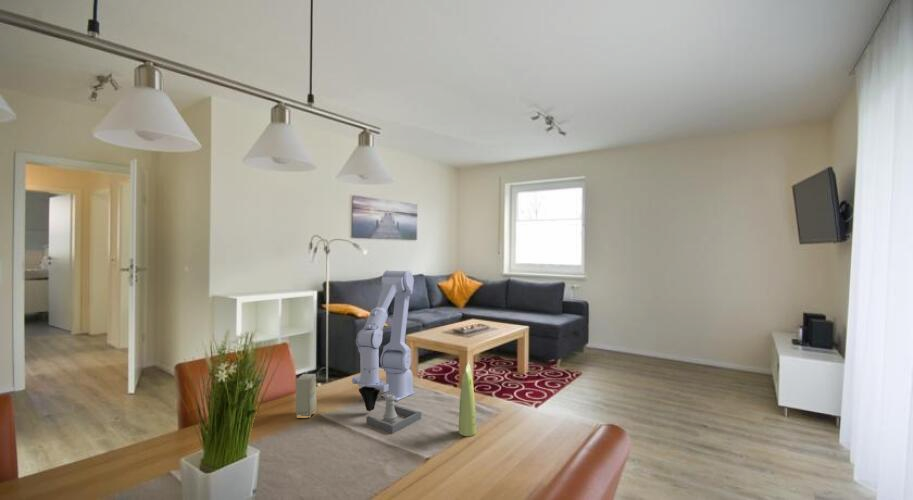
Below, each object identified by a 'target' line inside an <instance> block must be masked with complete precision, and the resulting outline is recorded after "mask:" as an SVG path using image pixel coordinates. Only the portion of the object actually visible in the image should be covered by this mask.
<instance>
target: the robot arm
mask: <svg viewBox="0 0 913 500" xmlns="http://www.w3.org/2000/svg"><path fill="white" fill-rule="evenodd" d="M414 281H415V278H414V276H413V273H412V272H411V271H410V270H387V269H386V270H385V271H384V272H383V274H382V277H381V286H382V289H381V292H380V295H379V298H378V301H377V304H376V307H374V308H372V309H371V310H370V312H369V315H368V317H367V319H366V322H365V324H364V326H363V328H362V329H360V330H359V331H358V332H357V334H356V339H355V344H356V346H357V349H358V351H357V352H358V353H359V358H360V361H359V362H360V363H359V364H360V365H359V366H360V367H359V368H360V373H359V374H360V376H359V375H357V376H353V377H351V380H352V381H351V382H352V384H353V385H356V384H357V385H358V387H360V388H358V392H359V394H360V395H361V397H362V399H363V402H364V406H365V409H366V410H365V411H367V412H371V411H374V410H375V406H376V401H377V399H378V397H379V394H380V392H381V393H382V394H380V397H381V396H383V397H382V398H385V397H386V394H388V395H389V393H391V395H392V393H393V394H394V396H395V399H394V402H396V401H397V402H398V401H400V400H402V399H404V398H407V397H409V396H411V395H414V394H415V393H416V391H414V375H413V372H412V370H411V369H410V368H411V366H412V365H411V364H412V360H413V359H412V349H411V348H410V347H409V345H407V344H406V343H405V341H406V340H405V339H406V334H407V333H406V332H407V323H408V315H409V314H408V313H409V307H410V306H409V304H410V297H411V295H413V291H414ZM393 299H394V303H393V304H394V305H393V314H392V322H391V331H390V332H391V333H390V339H389V342H388V343H386V345H384V346H383V348H382V349H383V350H382V353H381V355H379V354H380V353H379V351H380V350H379V348H380V346H381V344H382V342H383V334H384V331H383V330H384V326H385V324H386V321H387V319H388V317H389V315H388V313H387V311H388V309H389V307H390V304H392V303H391V302H392V301H393ZM379 357H380V358H379ZM379 363H380V365H379ZM380 366H381V368H382V369H383V371H384V372H385V382H384V381H382V380H381V379H380Z"/></svg>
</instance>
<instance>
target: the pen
mask: <svg viewBox="0 0 913 500" xmlns="http://www.w3.org/2000/svg"><path fill="white" fill-rule="evenodd" d="M394 408H395V412H396V414H397V415H398V414H399V415H402V416H404V417H406V418H403V419H402V420H399V421H398V422H397V421H396V422H395V423H391V424H390V423H388V422H385V421H383V419H382V420H380V419H378V418H375V417H373V416H370V415H368V416H366V419H365V420H366V423H367V425H369V426H372V427H375V428H378V429H380V430H383V431H386V432H390V434H394V433H398V432H399V431H401V430H402V429H405V428H406V427H409V426H410V425H411V424H414V423H416V422H417V421H419V420H422V411H416V410H413V409H410V408H407V407H403V406H400V405H396V404H394ZM366 423H365V424H366Z"/></svg>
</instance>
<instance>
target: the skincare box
mask: <svg viewBox="0 0 913 500" xmlns="http://www.w3.org/2000/svg"><path fill="white" fill-rule="evenodd" d="M316 376H317V375H316V373H302V374H301V375H300V376H299V377H297V378H296V379H295V405H296V406H295V407H296V409H295V410H296V416H297V415H301V416H310V415H311V414H312V413H313V412H314V411H315V409H316V408H318V406H317V377H316Z"/></svg>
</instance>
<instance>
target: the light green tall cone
mask: <svg viewBox="0 0 913 500" xmlns="http://www.w3.org/2000/svg"><path fill="white" fill-rule="evenodd" d="M472 374H473V373H472V368H471V365H470V360H468V362H467V364H466V366H465V370H464V373H463V375H462V381H461V387H460V396H459V408H458V409H459V411H458V414H459V415H458V434H460V435H461V436H464V437H471V436H474V435H475V434H476V433H477V418H476V400H475V399H476V397H475V391H474V390H475V389H474V381H473V375H472Z"/></svg>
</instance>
